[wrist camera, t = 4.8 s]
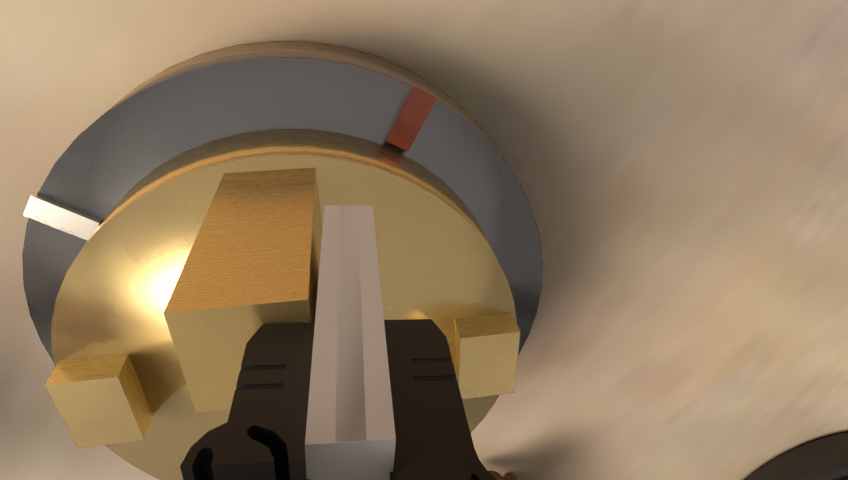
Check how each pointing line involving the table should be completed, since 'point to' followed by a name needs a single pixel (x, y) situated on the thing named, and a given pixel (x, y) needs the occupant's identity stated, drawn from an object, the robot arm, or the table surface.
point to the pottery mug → (506, 479)
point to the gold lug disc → (257, 284)
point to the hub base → (275, 109)
